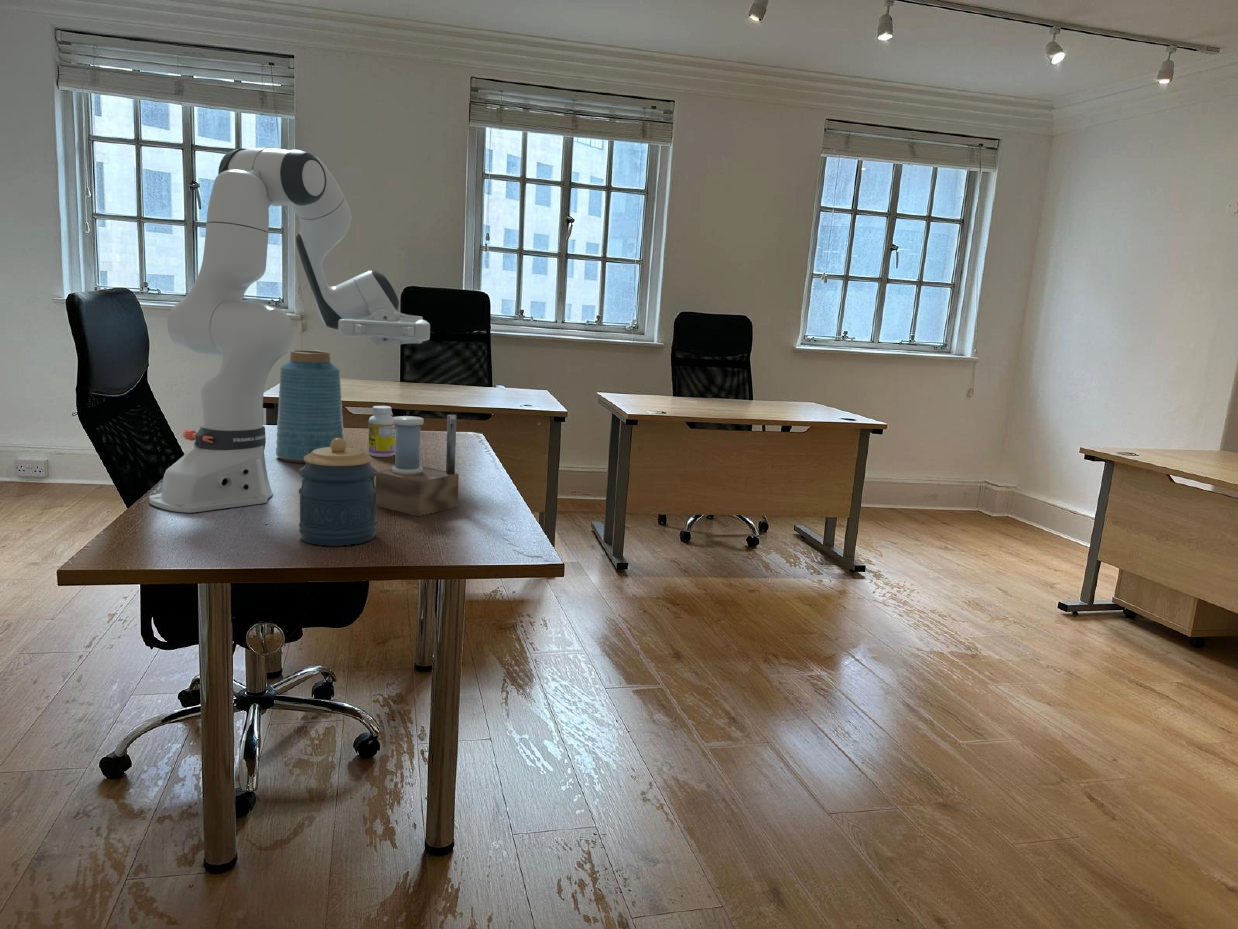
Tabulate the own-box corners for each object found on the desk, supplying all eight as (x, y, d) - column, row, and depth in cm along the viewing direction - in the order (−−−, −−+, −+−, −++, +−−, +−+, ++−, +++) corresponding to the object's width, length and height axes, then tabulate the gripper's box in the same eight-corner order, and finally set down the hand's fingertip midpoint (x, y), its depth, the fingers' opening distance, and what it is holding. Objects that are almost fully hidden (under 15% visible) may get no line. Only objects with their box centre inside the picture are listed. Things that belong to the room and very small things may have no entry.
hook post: (447, 478, 167) (448, 418, 165) (445, 472, 173) (447, 414, 171) (456, 478, 168) (458, 419, 165) (454, 472, 173) (456, 414, 171)
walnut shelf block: (418, 516, 165) (419, 481, 163) (375, 505, 171) (376, 471, 169) (457, 507, 174) (458, 473, 172) (415, 497, 180) (416, 464, 179)
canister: (333, 523, 156) (333, 429, 153) (391, 534, 152) (393, 437, 149) (282, 539, 144) (280, 438, 141) (343, 552, 140) (344, 447, 137)
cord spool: (407, 476, 167) (407, 421, 165) (385, 471, 170) (386, 417, 168) (428, 472, 172) (429, 419, 170) (407, 467, 175) (408, 415, 173)
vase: (274, 452, 216) (272, 347, 211) (340, 451, 223) (340, 350, 218) (277, 465, 202) (276, 353, 197) (348, 463, 209) (349, 355, 204)
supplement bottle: (366, 453, 223) (366, 405, 221) (391, 452, 226) (392, 405, 224) (371, 458, 218) (371, 408, 215) (397, 457, 221) (397, 408, 218)
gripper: (339, 311, 197) (334, 313, 183) (429, 316, 202) (431, 318, 189) (339, 339, 198) (334, 342, 185) (428, 343, 203) (430, 347, 190)
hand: (384, 330), depth 187 cm, fingers open, 8 cm apart
